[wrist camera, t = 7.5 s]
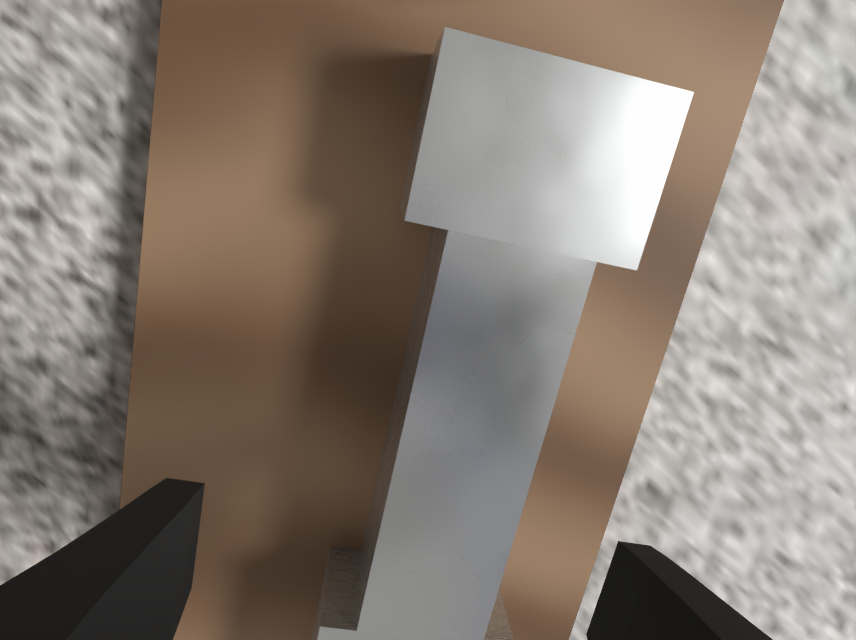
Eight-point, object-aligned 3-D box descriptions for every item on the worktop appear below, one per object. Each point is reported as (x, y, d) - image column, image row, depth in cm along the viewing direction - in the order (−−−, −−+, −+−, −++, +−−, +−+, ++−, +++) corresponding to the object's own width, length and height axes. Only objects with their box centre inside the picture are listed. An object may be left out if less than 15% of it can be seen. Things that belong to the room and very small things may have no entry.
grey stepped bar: (466, 661, 18) (482, 755, 16) (310, 644, 18) (296, 739, 15) (630, 104, 14) (693, 92, 11) (431, 53, 13) (444, 26, 11)
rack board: (514, 743, 21) (540, 857, 18) (116, 708, 19) (59, 828, 16) (768, -36, 15) (887, -95, 11) (199, -201, 13) (132, -333, 9)
